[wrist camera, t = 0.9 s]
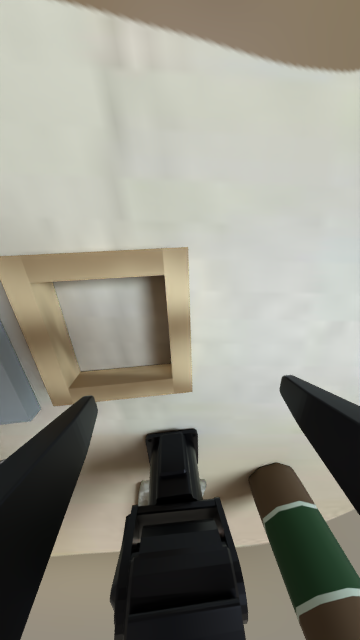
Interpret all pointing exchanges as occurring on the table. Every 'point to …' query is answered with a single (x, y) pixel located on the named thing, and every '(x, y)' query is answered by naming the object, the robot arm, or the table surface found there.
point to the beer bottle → (307, 556)
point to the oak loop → (52, 335)
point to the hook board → (14, 386)
